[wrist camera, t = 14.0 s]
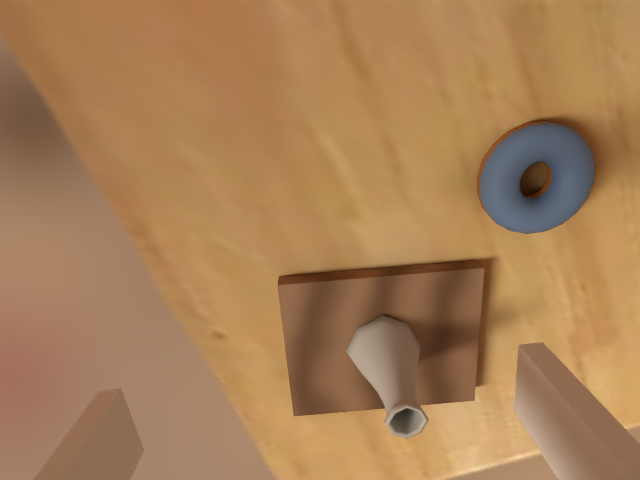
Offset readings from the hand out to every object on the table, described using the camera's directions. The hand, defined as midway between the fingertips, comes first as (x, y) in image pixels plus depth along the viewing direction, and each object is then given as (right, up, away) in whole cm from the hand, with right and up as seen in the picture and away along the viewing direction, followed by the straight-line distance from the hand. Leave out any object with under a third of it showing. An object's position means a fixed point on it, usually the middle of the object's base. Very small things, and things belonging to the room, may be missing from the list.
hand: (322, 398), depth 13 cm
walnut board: (+6, -5, +28) cm, 29 cm away
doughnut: (+19, +11, +23) cm, 32 cm away
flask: (+6, -6, +27) cm, 28 cm away
